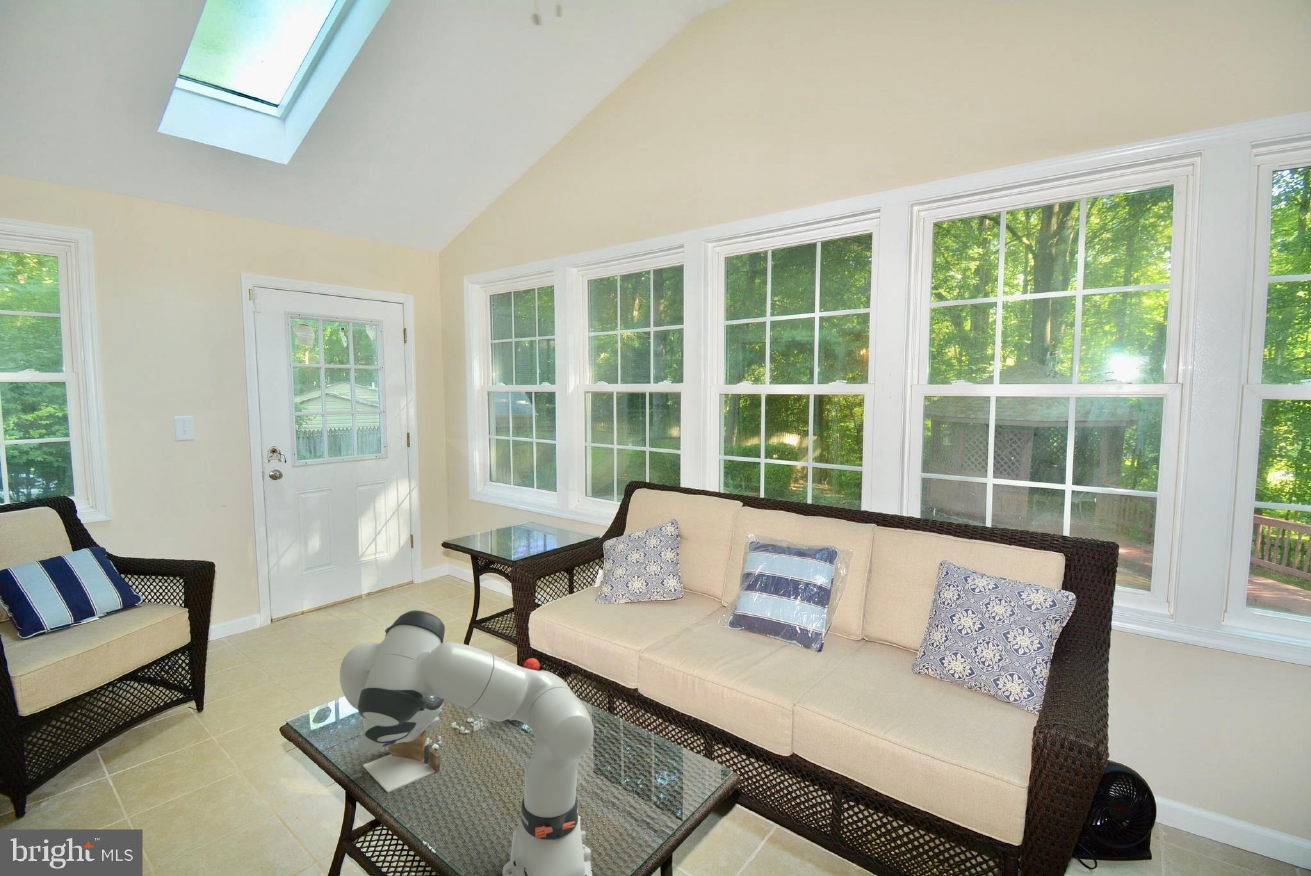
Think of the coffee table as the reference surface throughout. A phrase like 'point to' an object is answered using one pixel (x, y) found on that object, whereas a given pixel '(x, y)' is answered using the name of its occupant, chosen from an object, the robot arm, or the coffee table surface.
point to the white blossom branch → (460, 730)
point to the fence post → (432, 758)
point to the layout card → (397, 770)
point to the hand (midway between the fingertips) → (390, 743)
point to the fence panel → (411, 747)
